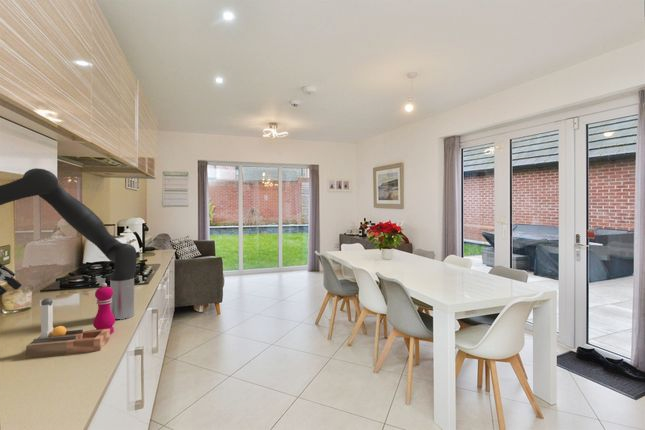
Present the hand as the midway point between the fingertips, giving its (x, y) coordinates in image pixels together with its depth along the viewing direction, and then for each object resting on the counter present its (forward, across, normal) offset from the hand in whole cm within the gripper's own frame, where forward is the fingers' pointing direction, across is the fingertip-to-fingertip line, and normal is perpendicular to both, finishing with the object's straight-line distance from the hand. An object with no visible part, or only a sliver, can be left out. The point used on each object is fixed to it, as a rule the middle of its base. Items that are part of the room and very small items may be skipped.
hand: (11, 290), depth 108 cm
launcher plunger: (+19, +1, +5) cm, 20 cm away
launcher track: (+27, 0, +3) cm, 27 cm away
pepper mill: (+32, +12, -2) cm, 34 cm away
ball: (+20, 0, +1) cm, 20 cm away
